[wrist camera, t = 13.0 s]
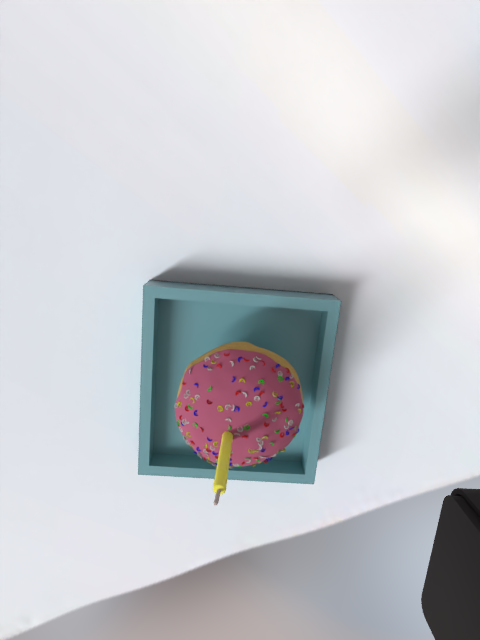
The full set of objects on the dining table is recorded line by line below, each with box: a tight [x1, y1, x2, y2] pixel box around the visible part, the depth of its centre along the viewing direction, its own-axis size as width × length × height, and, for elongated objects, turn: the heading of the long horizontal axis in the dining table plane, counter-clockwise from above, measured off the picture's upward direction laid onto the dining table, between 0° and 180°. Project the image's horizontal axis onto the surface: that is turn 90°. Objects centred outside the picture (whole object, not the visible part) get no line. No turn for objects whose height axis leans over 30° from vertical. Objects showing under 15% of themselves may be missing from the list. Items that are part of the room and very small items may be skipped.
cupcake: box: [174, 342, 304, 505], centre depth 25 cm, size 9×8×12 cm
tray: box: [138, 280, 341, 484], centre depth 31 cm, size 14×15×2 cm
